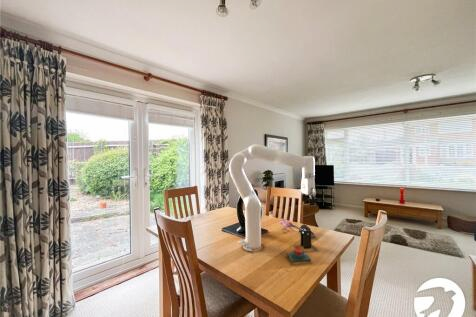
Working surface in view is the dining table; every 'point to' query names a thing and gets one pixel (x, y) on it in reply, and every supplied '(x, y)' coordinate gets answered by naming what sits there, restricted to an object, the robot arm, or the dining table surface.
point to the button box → (298, 257)
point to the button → (298, 251)
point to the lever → (296, 227)
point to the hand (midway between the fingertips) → (308, 203)
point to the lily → (286, 224)
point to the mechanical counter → (308, 229)
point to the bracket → (306, 238)
